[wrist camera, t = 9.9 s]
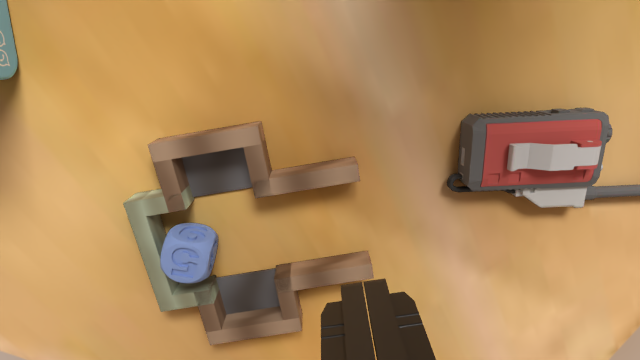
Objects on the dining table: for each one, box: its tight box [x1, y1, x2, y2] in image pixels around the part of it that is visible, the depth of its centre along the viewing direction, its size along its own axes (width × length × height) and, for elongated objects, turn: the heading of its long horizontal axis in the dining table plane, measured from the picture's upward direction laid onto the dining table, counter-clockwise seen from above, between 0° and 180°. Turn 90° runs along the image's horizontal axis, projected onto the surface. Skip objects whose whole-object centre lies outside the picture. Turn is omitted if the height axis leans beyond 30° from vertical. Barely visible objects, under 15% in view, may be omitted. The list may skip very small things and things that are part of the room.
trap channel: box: [123, 121, 374, 345], centre depth 35 cm, size 20×20×2 cm
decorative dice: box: [160, 223, 218, 283], centre depth 34 cm, size 4×4×4 cm
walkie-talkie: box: [447, 108, 640, 208], centre depth 33 cm, size 9×4×20 cm
